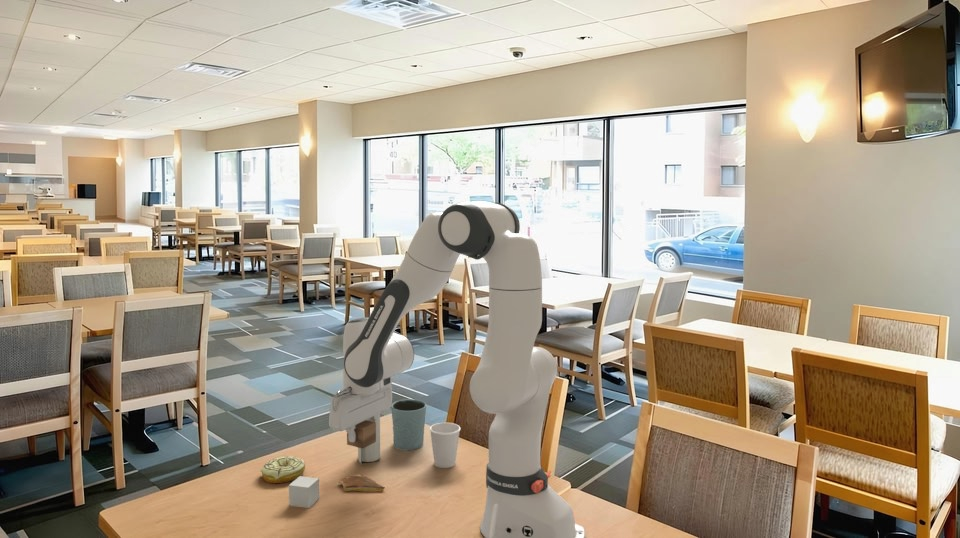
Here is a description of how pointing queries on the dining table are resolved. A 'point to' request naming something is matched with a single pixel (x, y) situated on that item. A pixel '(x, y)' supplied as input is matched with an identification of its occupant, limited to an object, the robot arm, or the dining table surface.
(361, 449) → the paper towel roll
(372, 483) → the shard
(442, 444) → the dixie cup
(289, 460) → the decorated donut
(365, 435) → the walnut cube
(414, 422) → the teal plant pot
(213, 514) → the dining table surface
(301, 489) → the grey cube
